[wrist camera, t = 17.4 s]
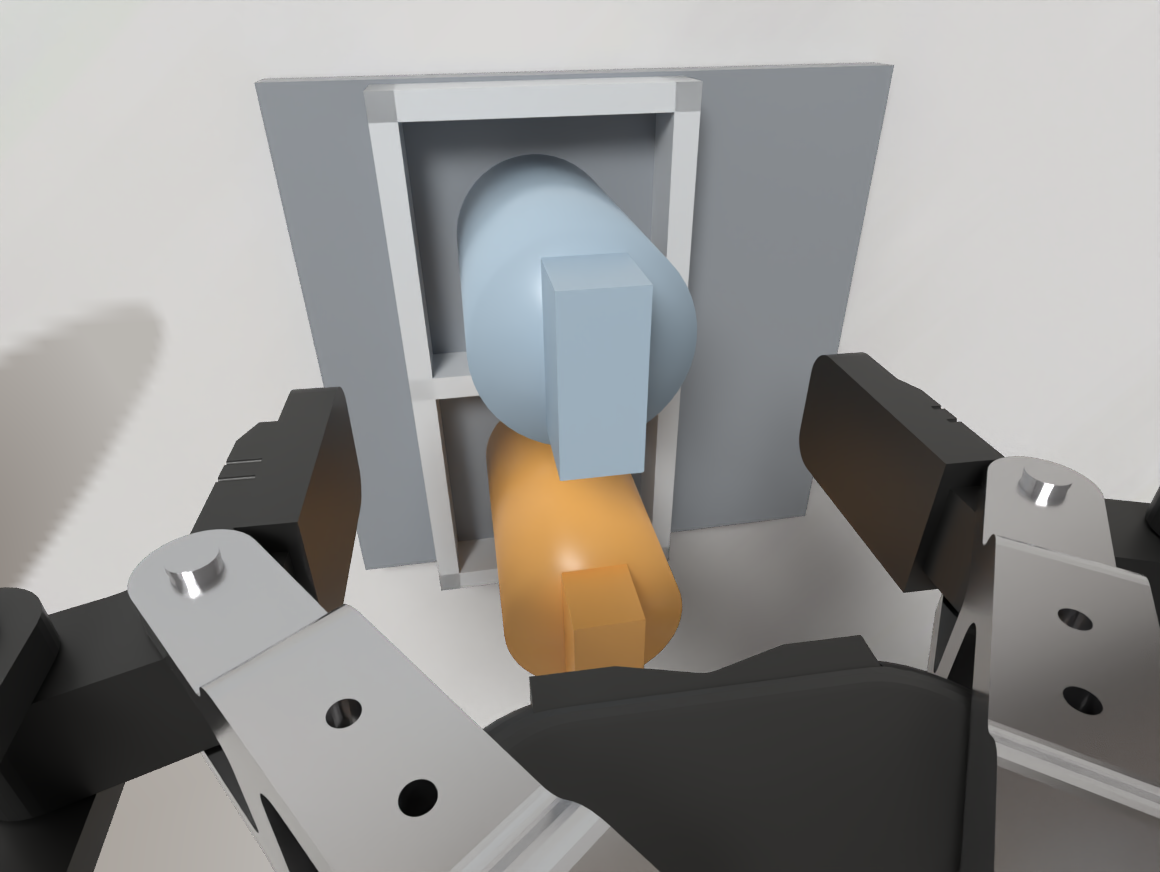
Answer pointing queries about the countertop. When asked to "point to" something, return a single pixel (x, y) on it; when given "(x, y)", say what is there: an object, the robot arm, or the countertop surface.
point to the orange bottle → (575, 564)
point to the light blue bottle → (569, 315)
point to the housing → (650, 200)
